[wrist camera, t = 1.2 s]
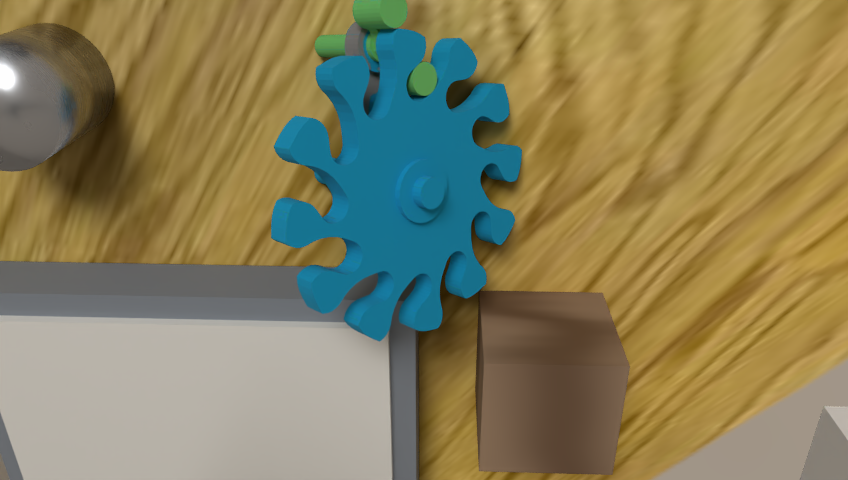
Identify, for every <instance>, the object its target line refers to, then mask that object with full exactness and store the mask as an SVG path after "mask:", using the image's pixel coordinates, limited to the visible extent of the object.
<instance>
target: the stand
mask: <svg viewBox="0 0 848 480" xmlns="http://www.w3.org/2000/svg"><path fill="white" fill-rule="evenodd" d="M304 268H306V267H296V266H239V265H183V264H127V263H70V262H14V261H0V454H1V457H2V460H3V462H4V465H5V468H6V471H7V474H8V476H9V479H10V480H419V345H418V330H415V329H413V328H411V327H408V326H406V325H404V324H401V323H400V322H399V310H400V307H401V305H402V303H403V302H404V300H405V299H406V298H407V297H408V296H409V294H410V293H411V292H412V291H413V289H414V287H415V284H416V277H415V278H414V279H413V280H412V281H411V282H410V283H409V285H408V286H407V287H406V288H405V290H404V291H403V292H402V294H401V296H400V297H399V299H398V301H397V303H396V306H395V308H394V312H393V315H392V320H391V326H390V329H389V331H388V333H387V335H386V336H385V337H384V339H382V340H381V341H380V342H379V341H377V340H374V339H372V338H370V337H368V336H366V335H364V334H362V333H360V332H358V331H356V330H354V329H352V328H351V327H350V326H349V325H347V323H346V322H345V321H344V315H345V312H346V310H347V308H348V307H349V306H350V304H351V303H353V302H354V301H355V300H357V299H359V298H362V297H364V296H367V295H369V294H370V293H372V292H373V291H374V289H375V288H376V286H377V282H378V274H377V273H376V274H373V275H370V276H368V277H366V278H364V279H362V280H361V281H359V282H358V283H357V284H355V285H354V286H353V287H352V288H351V289H350V290H349V292H348V293H347V294H346V295H345V297H344V298H343V300H342V301H341V303H340V305H339V306H338V307H337V308H336V309H335V310H333V311H332V312H329V313H326V314H322V313H320V312H318V311H315V310H313V309H311V308H309V307H307V305H306V303H305V302H304V300H303V298H302V296H301V294H300V291H299V288H298V285H297V275H298V274H299V272H300V271H301V270H303V269H304ZM326 268H335V267H326Z"/></svg>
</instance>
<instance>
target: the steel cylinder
mask: <svg viewBox="0 0 848 480" xmlns="http://www.w3.org/2000/svg"><path fill="white" fill-rule="evenodd" d="M113 100H114V83H113V78H112V74H111V71H110V69H109V66H108V64H107V62H106V61H105V59H104V57H103V56H102V54H101V53H100V52H99V50H98V49H97V48H96V47H95V46H94V45H93V44H92V43H91V42H90V41H89V40H88V39H86V38H85V37H84V36H82V35H81V34H79V33H78V32H76V31H74V30H72V29H70V28H67V27H65V26H62V25H57V24H52V23H38V24H33V25H30V26H26V27H23V28H20V29H17V30H14V31H11V32H8V33H4V34H1V35H0V170H2V171H22V170H27V169H30V168H33V167H35V166H37V165H39V164H40V163H42V162H43V161H45V160H46V159H48V158H49V157H51V156H52V155H54V154H55V153H57V152H58V151H60V150H61V149H63V148H64V147H66V146H68V145H69V144H71V143H72V142H74V141H75V140H77V139H78V138H80V137H81V136H83V135H84V134H86V133H87V132H89V131H90V130H92V129H93V128H95V127H96V126H98V125H99V124H100V123H101V122H102V121H103V120H104V119H105V118H106V117H107V115H108V114H109V112H110V110H111V107H112V104H113Z"/></svg>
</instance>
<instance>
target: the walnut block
mask: <svg viewBox="0 0 848 480" xmlns="http://www.w3.org/2000/svg"><path fill="white" fill-rule="evenodd" d="M629 369H630V366H629V363H628V360H627V358H626V355H625V352H624V350H623V347H622V344H621V342H620V339H619V336H618V333H617V331H616V328H615V325H614V323H613V320H612V317H611V315H610V312H609V309H608V306H607V304H606V301H605V298H604V296H603V293H583V292H528V291H479V311H478V336H477V360H476V385H475V392H476V414H477V436H478V459H479V471H493V472H530V473H566V474H603V475H612V474H613V467H614V461H615V455H616V449H617V443H618V437H619V430H620V424H621V418H622V412H623V406H624V400H625V393H626V387H627V381H628V375H629Z"/></svg>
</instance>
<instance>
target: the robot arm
mask: <svg viewBox="0 0 848 480" xmlns="http://www.w3.org/2000/svg"><path fill="white" fill-rule="evenodd" d="M0 480H10V479H9V476H8V474H7V471H6V468H5V465H4V462H3V460H2V457H1V454H0ZM800 480H848V407H835V406H824V407H823V410H822V413H821V416H820V419H819V422H818V425H817V428H816V431H815V435H814V437H813V441H812V444H811V447H810V450H809V453H808V456H807V459H806V462H805V465H804V468H803V471H802V475H801V478H800Z"/></svg>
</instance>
